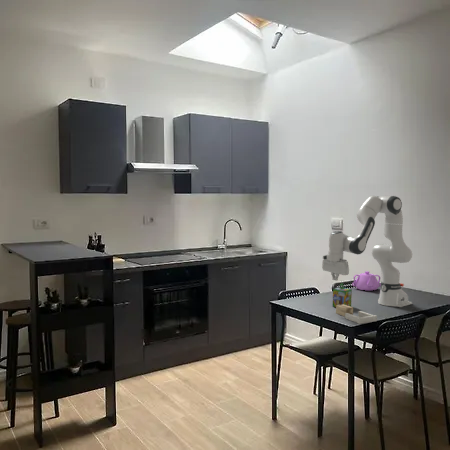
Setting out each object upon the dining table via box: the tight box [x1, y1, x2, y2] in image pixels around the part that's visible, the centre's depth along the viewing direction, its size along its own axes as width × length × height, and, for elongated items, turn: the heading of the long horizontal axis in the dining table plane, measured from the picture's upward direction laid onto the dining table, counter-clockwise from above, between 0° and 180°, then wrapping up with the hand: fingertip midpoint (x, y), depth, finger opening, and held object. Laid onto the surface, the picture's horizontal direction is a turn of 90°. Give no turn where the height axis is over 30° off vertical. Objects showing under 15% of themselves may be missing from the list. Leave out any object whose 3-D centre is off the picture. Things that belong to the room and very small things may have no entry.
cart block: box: [335, 305, 354, 317], centre depth 274 cm, size 6×8×5 cm
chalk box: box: [332, 283, 353, 308], centre depth 293 cm, size 9×9×15 cm
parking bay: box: [344, 310, 378, 325], centre depth 263 cm, size 14×12×3 cm
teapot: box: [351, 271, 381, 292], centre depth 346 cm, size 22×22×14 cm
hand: (335, 280), depth 281 cm, fingers closed
